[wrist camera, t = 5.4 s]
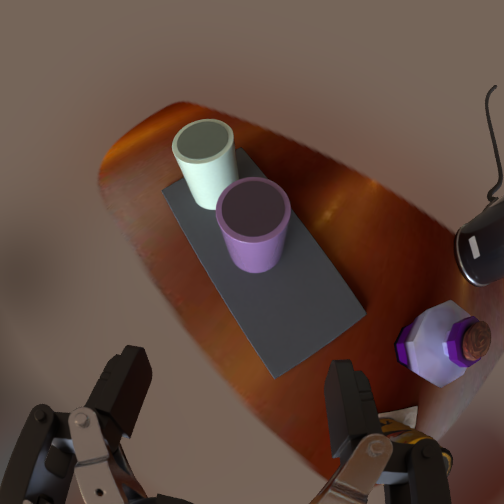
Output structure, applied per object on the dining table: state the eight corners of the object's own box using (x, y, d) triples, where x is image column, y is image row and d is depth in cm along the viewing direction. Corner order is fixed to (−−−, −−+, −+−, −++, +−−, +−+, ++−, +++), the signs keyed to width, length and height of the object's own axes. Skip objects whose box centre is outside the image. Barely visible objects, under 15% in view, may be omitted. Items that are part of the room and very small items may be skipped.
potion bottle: (404, 396, 24) (468, 413, 13) (368, 341, 27) (428, 337, 15) (450, 347, 25) (517, 341, 14) (418, 295, 28) (483, 267, 16)
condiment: (353, 417, 24) (402, 453, 13) (417, 405, 24) (481, 423, 12) (346, 470, 22) (384, 522, 10) (409, 456, 21) (463, 490, 10)
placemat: (241, 149, 35) (241, 146, 35) (365, 314, 28) (367, 313, 27) (162, 192, 33) (161, 190, 33) (274, 378, 26) (274, 379, 25)
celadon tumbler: (225, 161, 34) (215, 110, 25) (249, 193, 32) (245, 143, 24) (184, 183, 33) (163, 136, 24) (206, 218, 31) (187, 174, 23)
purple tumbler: (263, 212, 31) (263, 165, 23) (293, 254, 30) (306, 217, 21) (218, 239, 30) (202, 198, 22) (247, 283, 29) (240, 257, 20)
